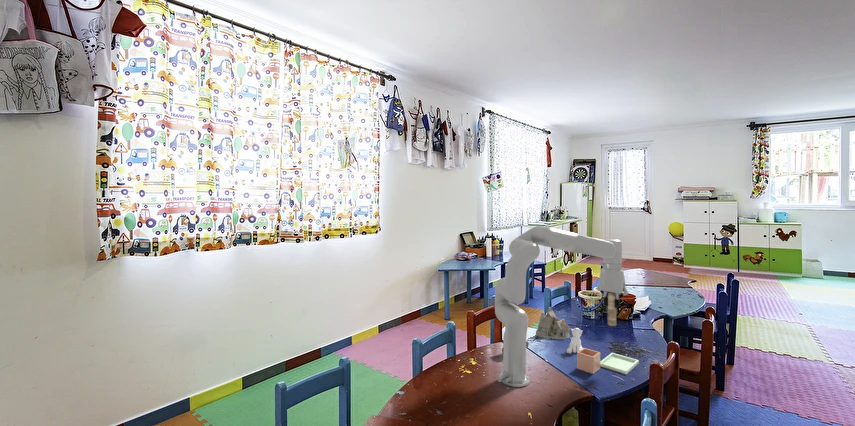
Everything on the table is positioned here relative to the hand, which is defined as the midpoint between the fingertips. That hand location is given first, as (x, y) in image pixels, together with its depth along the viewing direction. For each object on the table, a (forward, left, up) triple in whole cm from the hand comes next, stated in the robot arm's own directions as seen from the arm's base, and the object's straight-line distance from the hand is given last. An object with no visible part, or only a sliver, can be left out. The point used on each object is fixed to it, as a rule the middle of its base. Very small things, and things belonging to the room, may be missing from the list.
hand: (612, 306), depth 173 cm
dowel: (0, 0, -9) cm, 9 cm away
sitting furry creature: (+5, +19, -29) cm, 35 cm away
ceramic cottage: (+17, +38, -29) cm, 51 cm away
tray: (+4, -2, -28) cm, 29 cm away
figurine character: (-18, +40, -29) cm, 52 cm away
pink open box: (-10, +6, -28) cm, 31 cm away
